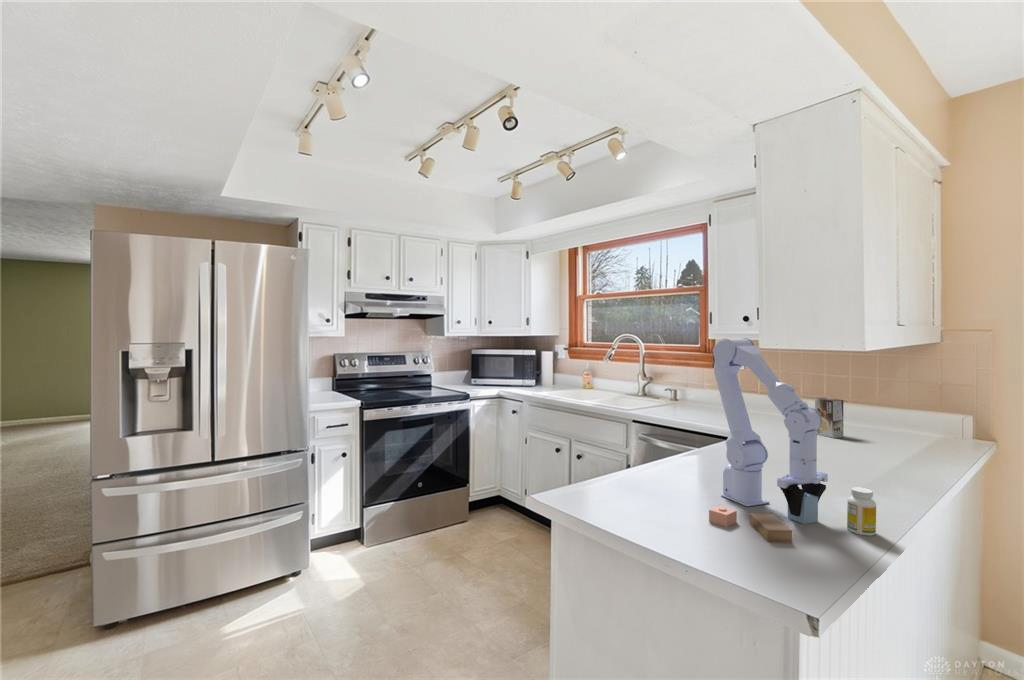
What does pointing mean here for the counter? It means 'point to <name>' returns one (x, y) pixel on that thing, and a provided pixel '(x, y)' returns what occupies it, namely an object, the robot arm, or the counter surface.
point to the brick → (722, 516)
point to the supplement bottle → (861, 512)
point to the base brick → (770, 527)
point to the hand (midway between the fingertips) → (802, 513)
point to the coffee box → (830, 417)
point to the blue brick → (807, 510)
